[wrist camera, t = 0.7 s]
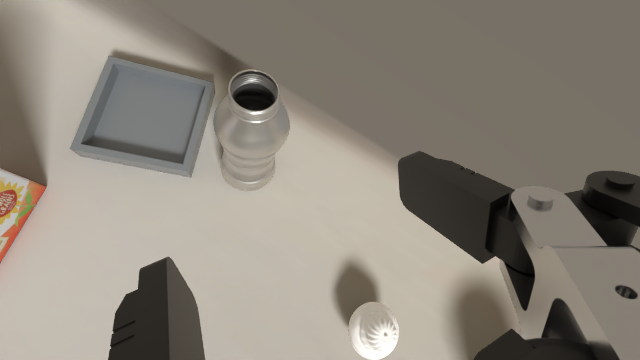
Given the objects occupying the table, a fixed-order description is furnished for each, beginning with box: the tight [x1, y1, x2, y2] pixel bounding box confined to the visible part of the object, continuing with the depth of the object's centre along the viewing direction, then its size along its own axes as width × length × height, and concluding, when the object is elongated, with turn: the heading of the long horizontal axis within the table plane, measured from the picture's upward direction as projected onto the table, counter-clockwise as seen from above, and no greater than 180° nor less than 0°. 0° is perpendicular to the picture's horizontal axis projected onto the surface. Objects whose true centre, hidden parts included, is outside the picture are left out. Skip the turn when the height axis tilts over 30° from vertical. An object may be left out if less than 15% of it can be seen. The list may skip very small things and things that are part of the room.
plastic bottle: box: [214, 69, 290, 191], centre depth 31 cm, size 6×7×20 cm
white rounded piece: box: [348, 302, 399, 360], centre depth 36 cm, size 6×6×7 cm
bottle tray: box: [70, 56, 215, 177], centre depth 38 cm, size 13×13×2 cm
